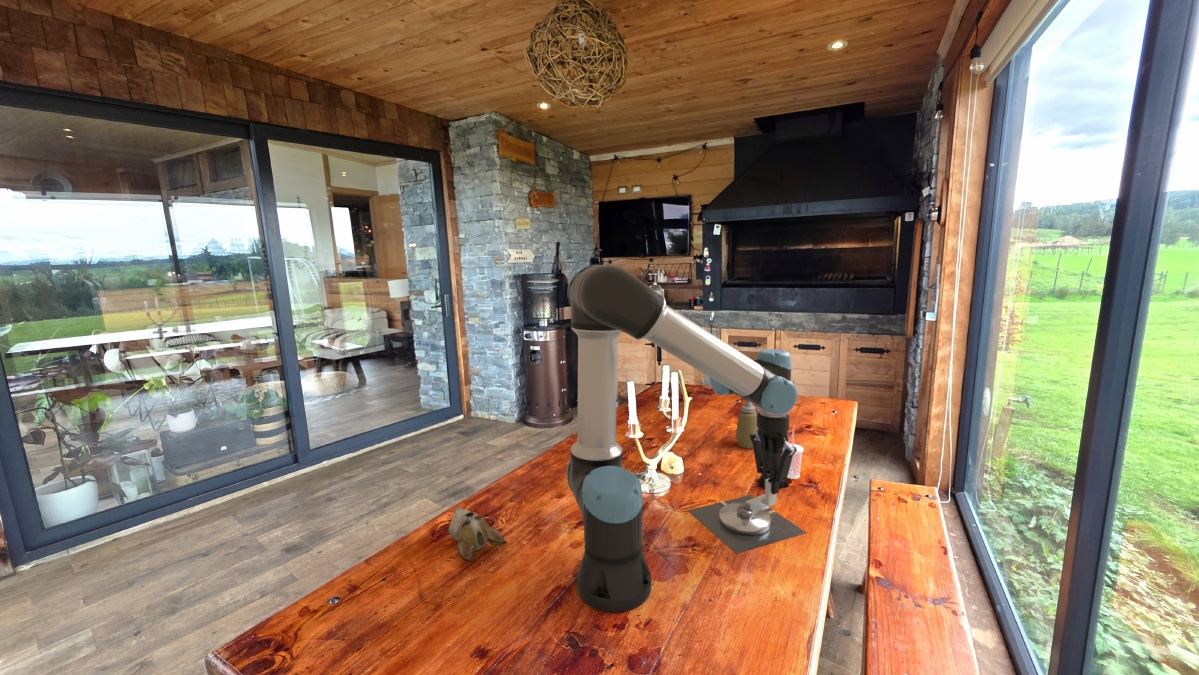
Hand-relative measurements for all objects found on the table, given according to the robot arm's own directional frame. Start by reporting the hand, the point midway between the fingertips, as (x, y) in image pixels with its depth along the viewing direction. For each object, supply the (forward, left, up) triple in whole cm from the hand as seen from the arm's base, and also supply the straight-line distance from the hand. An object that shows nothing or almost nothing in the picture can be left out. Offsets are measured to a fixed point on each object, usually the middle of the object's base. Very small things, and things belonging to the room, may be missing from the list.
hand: (770, 503), depth 119 cm
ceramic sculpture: (-71, +19, -5) cm, 73 cm away
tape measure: (+13, +13, -5) cm, 19 cm away
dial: (-6, 0, -3) cm, 7 cm away
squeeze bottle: (+26, +41, -5) cm, 49 cm away
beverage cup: (+23, +17, -5) cm, 29 cm away
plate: (-8, 0, -4) cm, 9 cm away
